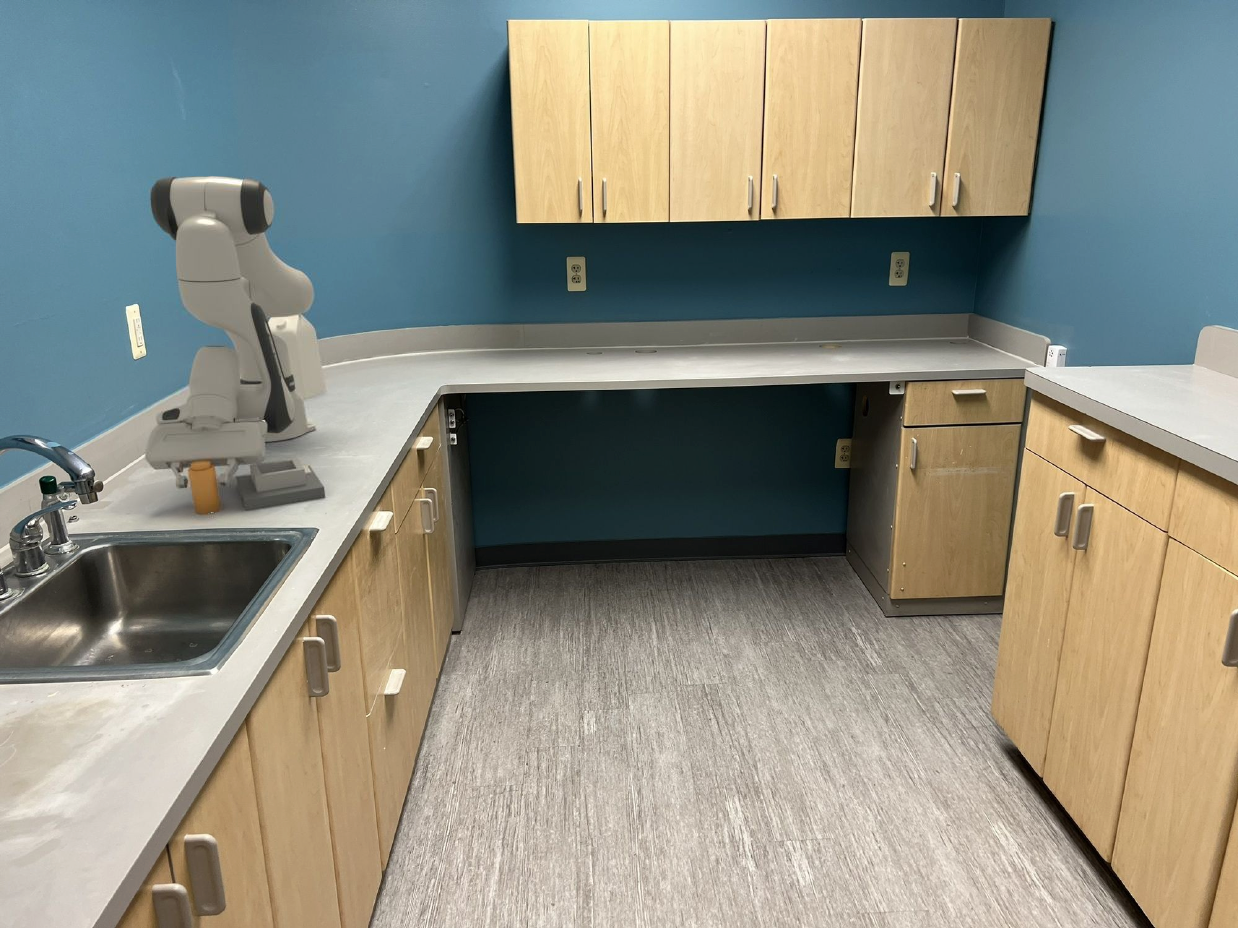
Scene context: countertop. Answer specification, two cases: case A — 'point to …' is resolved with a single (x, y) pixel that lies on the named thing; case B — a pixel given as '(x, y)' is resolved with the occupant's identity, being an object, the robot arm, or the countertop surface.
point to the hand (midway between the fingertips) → (202, 485)
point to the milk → (301, 353)
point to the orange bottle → (204, 487)
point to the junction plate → (278, 484)
